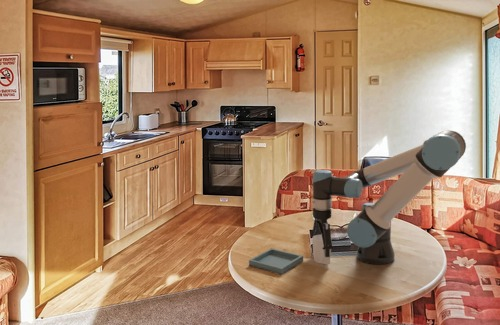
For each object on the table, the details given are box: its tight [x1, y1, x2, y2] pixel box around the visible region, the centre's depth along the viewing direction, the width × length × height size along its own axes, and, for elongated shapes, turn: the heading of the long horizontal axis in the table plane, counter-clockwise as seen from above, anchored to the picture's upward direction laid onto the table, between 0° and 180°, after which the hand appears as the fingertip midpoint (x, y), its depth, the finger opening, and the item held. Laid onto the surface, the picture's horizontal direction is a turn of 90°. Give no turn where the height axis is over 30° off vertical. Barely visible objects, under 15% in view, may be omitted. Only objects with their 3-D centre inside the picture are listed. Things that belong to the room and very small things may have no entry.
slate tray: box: [248, 247, 304, 275], centre depth 195 cm, size 16×16×2 cm
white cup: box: [311, 234, 333, 264], centre depth 196 cm, size 8×8×10 cm
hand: (321, 257), depth 197 cm, fingers open, 13 cm apart
